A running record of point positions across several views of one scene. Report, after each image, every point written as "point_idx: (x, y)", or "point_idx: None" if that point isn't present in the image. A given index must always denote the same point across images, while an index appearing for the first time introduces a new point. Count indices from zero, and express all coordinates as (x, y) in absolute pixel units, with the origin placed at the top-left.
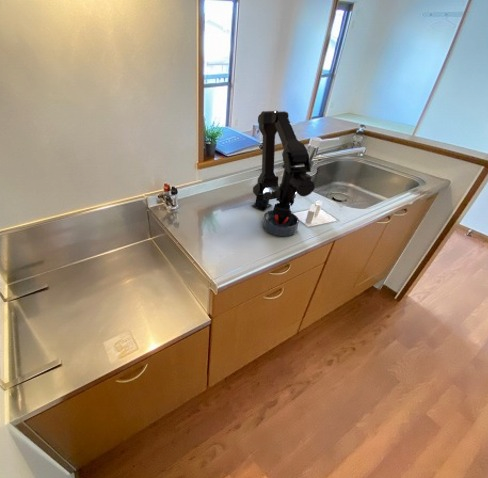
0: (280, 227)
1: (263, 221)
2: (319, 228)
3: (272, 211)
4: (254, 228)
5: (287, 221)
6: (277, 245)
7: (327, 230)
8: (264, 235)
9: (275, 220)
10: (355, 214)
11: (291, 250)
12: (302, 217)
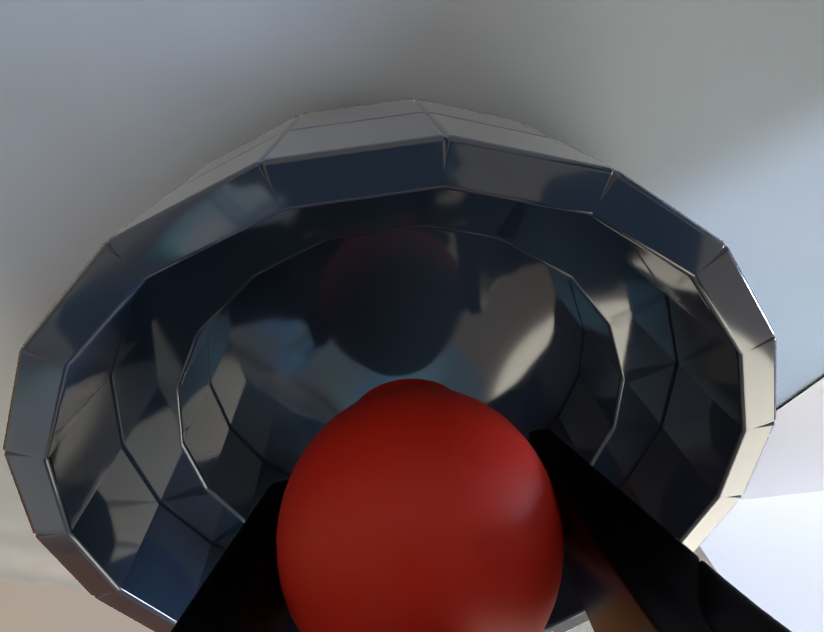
0: (95, 593)
1: (209, 170)
2: None
3: (663, 260)
4: (39, 8)
5: (567, 429)
6: (4, 481)
7: (590, 626)
8: (28, 284)
9: (342, 411)
10: None
11: (72, 577)
12: (768, 466)
